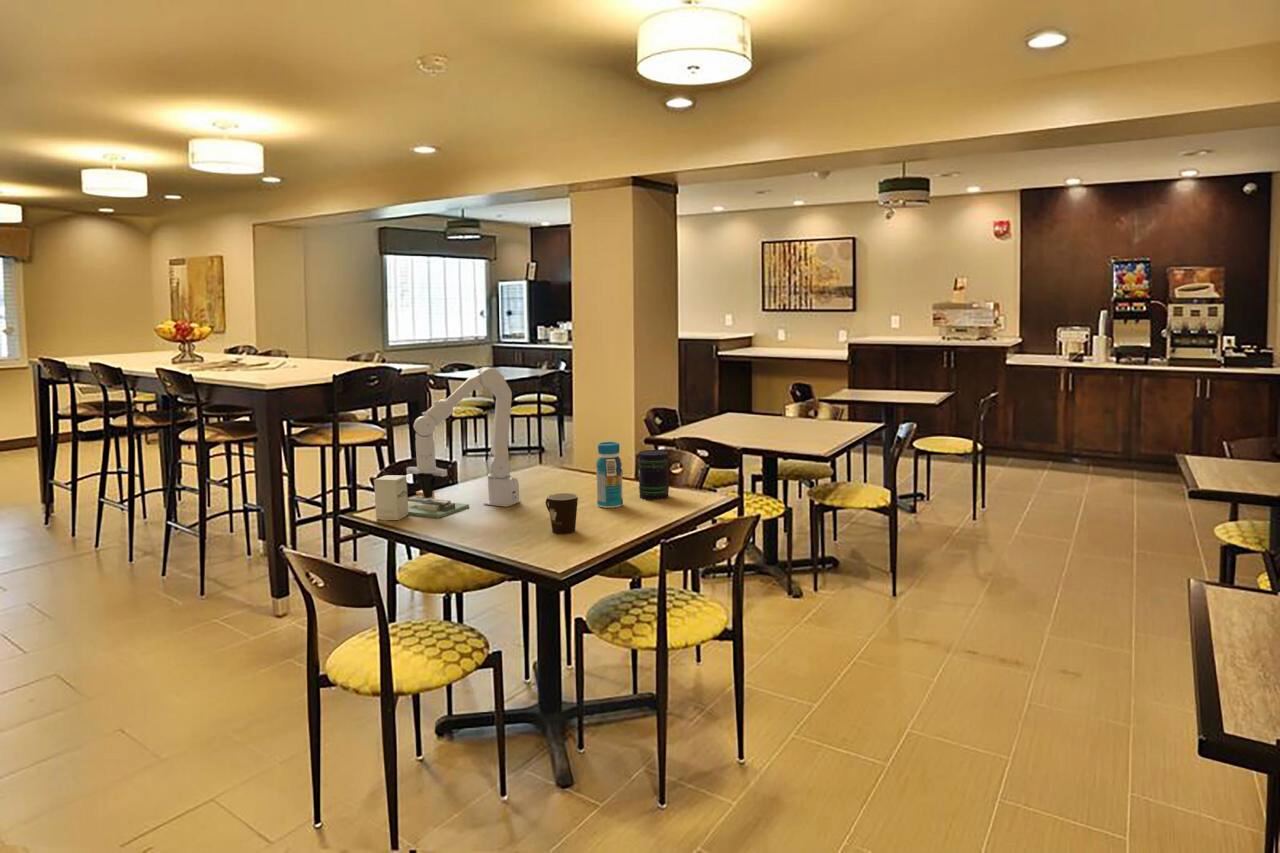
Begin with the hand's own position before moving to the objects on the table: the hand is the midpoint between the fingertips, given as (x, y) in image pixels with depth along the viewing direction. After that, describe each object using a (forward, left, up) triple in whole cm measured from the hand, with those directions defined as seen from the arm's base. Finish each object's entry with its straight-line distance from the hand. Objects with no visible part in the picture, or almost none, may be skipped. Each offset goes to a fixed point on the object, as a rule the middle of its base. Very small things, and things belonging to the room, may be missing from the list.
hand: (428, 497), depth 268 cm
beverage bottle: (-51, -26, -4) cm, 57 cm away
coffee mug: (-52, +5, -4) cm, 52 cm away
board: (-1, 0, -4) cm, 4 cm away
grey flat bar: (0, 0, -2) cm, 2 cm away
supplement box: (+4, +12, -4) cm, 13 cm away
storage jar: (-59, -42, -4) cm, 72 cm away
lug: (+5, -5, -3) cm, 8 cm away
